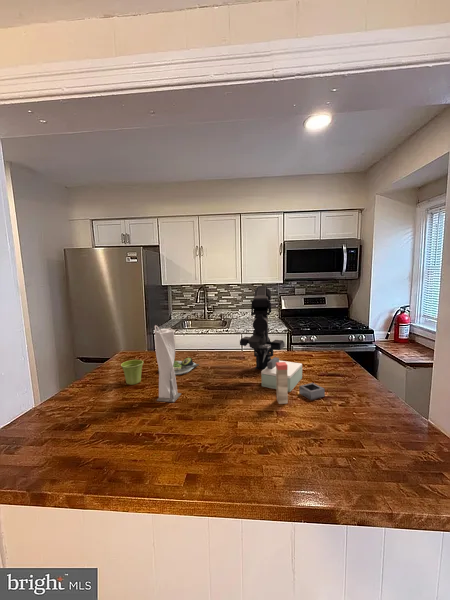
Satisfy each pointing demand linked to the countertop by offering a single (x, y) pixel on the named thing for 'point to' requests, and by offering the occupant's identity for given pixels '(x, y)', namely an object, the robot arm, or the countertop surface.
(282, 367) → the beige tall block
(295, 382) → the toolbox
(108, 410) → the countertop surface
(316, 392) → the key socket
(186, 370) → the salad plate
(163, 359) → the skyscraper
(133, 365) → the plant pot
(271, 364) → the toolbox lid
